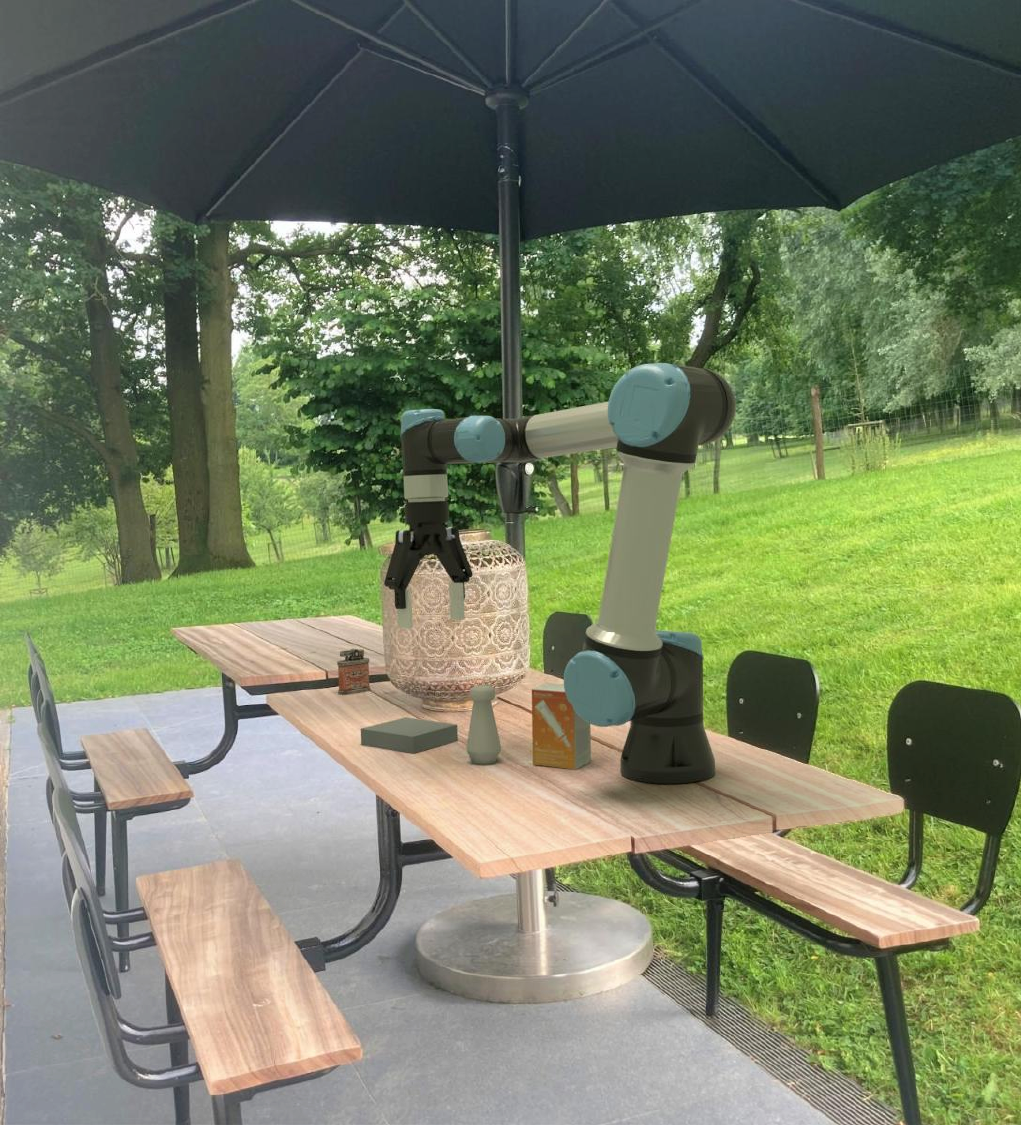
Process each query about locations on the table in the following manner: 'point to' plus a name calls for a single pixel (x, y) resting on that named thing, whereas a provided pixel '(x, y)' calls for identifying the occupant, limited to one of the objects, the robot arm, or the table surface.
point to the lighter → (353, 672)
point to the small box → (558, 730)
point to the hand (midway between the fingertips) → (432, 623)
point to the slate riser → (409, 735)
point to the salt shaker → (483, 727)
